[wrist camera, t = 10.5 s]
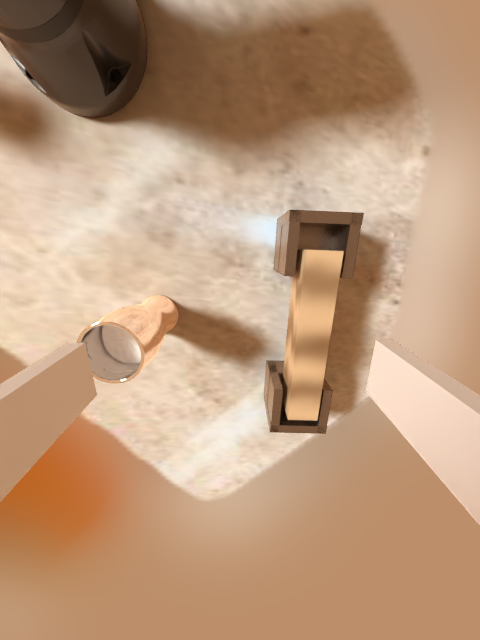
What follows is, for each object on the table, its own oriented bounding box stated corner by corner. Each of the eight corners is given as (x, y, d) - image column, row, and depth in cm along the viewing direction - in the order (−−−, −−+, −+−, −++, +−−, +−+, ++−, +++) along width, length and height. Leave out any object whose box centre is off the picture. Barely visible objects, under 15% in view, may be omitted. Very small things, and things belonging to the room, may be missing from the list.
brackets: (277, 219, 34) (289, 209, 25) (333, 221, 34) (363, 212, 26) (263, 396, 42) (269, 432, 34) (308, 397, 42) (325, 433, 34)
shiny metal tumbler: (184, 297, 37) (150, 328, 22) (177, 338, 39) (141, 391, 24) (139, 287, 36) (74, 312, 22) (134, 329, 38) (72, 378, 24)
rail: (295, 249, 31) (307, 249, 26) (325, 250, 31) (343, 251, 26) (280, 395, 37) (287, 419, 32) (306, 396, 37) (317, 420, 32)
